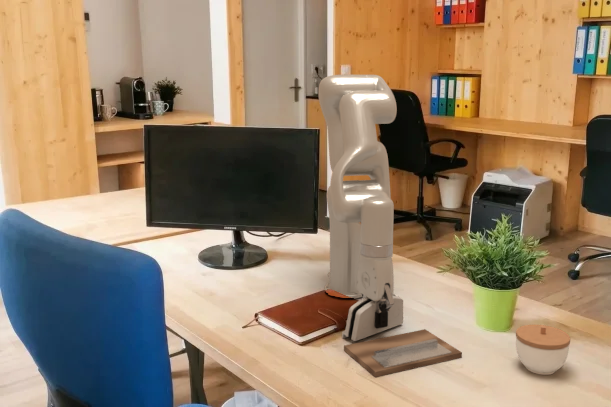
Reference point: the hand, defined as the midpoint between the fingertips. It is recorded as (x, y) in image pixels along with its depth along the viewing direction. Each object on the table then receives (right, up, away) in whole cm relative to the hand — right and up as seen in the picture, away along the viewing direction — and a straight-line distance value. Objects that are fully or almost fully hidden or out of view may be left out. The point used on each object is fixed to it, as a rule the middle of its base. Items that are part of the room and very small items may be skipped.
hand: (375, 322), depth 149 cm
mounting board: (+5, -5, -10) cm, 12 cm away
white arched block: (-1, -3, +2) cm, 4 cm away
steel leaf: (+6, -5, -13) cm, 16 cm away
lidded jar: (+33, -7, -17) cm, 38 cm away
